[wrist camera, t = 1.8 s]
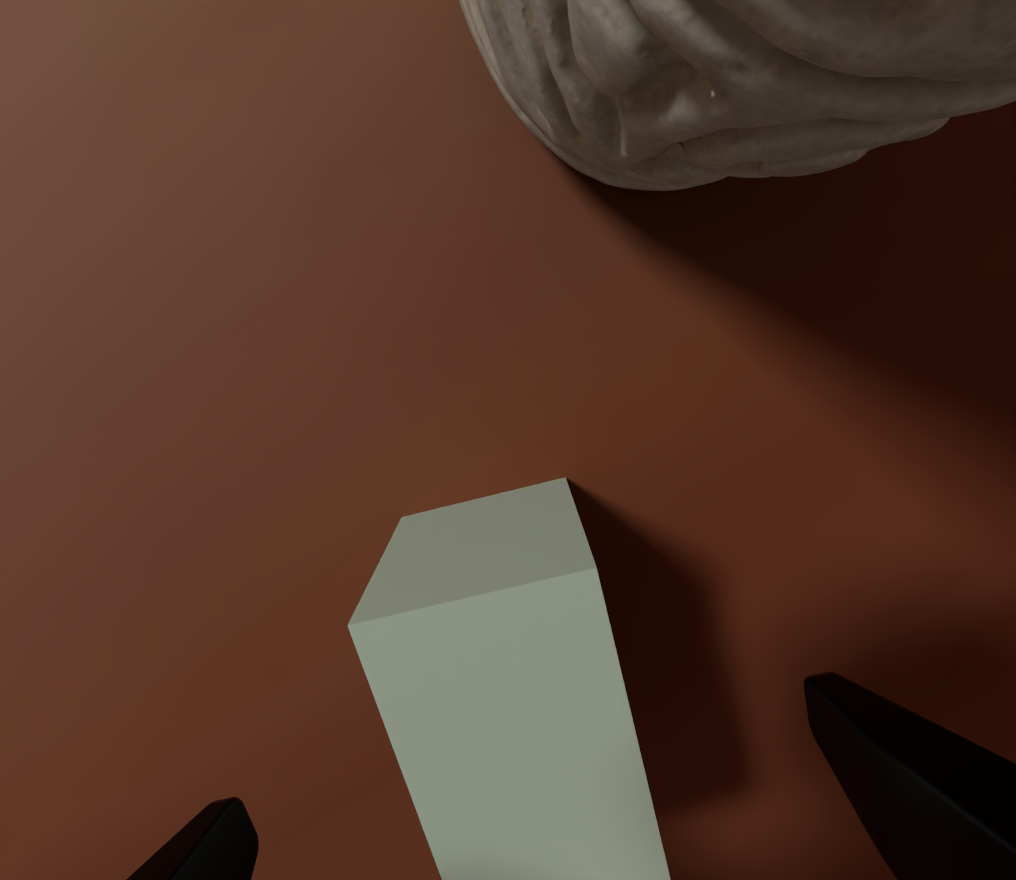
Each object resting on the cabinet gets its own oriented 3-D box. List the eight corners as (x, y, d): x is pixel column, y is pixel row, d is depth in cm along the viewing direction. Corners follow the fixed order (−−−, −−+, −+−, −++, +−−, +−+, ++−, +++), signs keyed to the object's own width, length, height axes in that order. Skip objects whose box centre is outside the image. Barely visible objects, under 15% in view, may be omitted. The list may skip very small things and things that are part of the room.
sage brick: (622, 714, 12) (675, 898, 9) (477, 744, 13) (464, 938, 9) (564, 475, 11) (596, 568, 7) (402, 515, 11) (347, 625, 7)
